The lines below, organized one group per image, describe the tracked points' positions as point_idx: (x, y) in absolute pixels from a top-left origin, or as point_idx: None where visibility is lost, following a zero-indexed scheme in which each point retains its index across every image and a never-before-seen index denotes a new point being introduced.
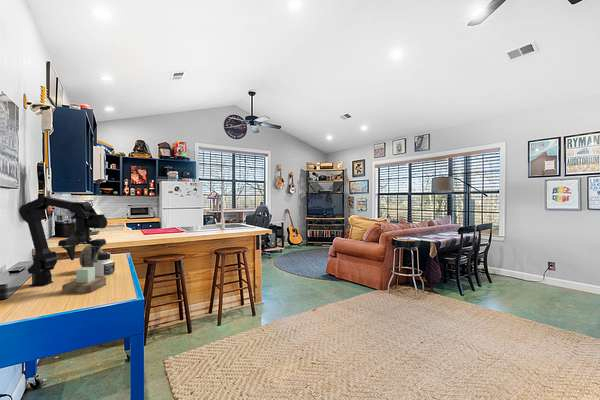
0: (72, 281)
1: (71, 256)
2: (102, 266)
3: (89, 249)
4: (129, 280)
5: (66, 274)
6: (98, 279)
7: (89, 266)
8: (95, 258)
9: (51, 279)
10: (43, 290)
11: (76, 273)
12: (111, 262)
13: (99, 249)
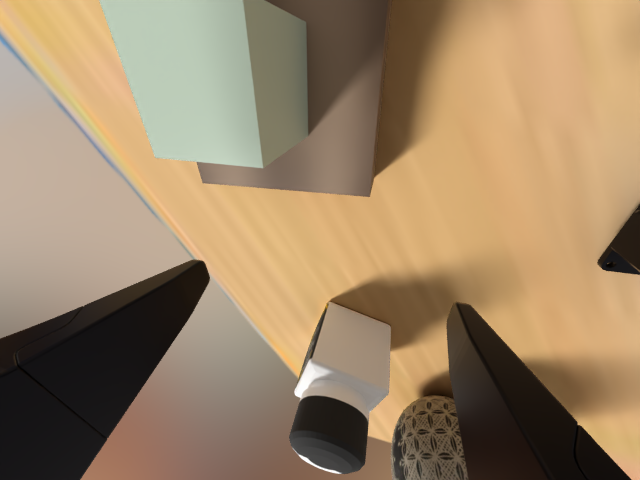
0: (370, 79)
1: (478, 354)
2: (323, 350)
3: None
4: (180, 228)
5: (552, 383)
6: None
7: (442, 410)
8: (415, 455)
9: (623, 256)
10: (628, 35)
11: (268, 4)
12: (298, 382)
13: None
